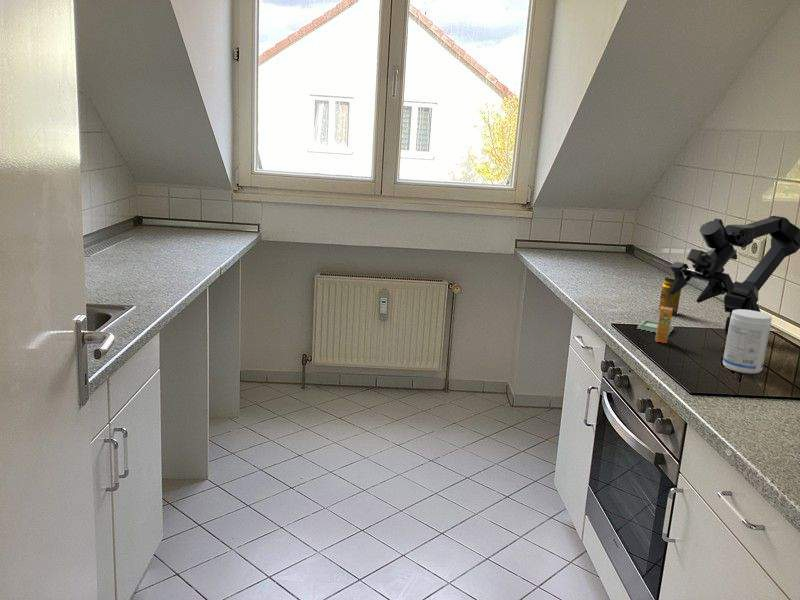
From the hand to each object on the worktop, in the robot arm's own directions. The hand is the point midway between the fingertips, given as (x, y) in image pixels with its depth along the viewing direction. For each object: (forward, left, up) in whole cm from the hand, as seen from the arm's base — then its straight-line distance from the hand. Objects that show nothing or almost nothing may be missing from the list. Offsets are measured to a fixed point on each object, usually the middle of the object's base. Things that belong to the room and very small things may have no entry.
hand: (683, 297), depth 214 cm
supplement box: (+3, +6, -13) cm, 14 cm away
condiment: (+7, -37, -13) cm, 40 cm away
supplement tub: (-19, +17, -13) cm, 28 cm away
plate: (+7, -8, -13) cm, 17 cm away
